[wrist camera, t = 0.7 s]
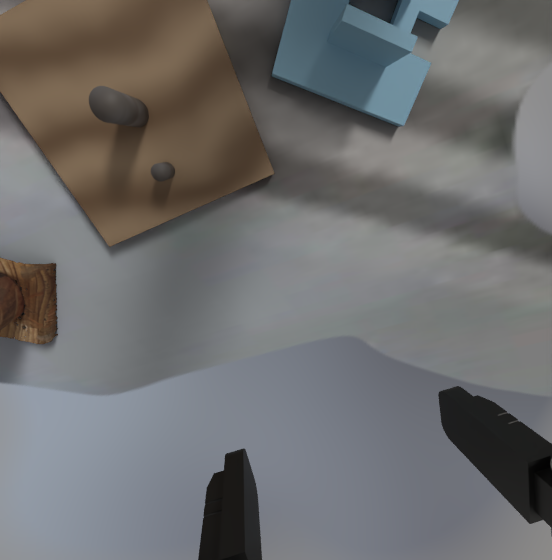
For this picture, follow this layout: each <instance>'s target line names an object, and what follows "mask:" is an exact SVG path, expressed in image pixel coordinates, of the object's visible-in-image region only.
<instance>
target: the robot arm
mask: <svg viewBox="0 0 552 560" xmlns="http://www.w3.org/2000/svg"><path fill="white" fill-rule="evenodd" d="M439 405H440V413H441V422H442V426H443V429H444V431H445V433H446V435H447V436H448V438H449V439H450V440H451V441H452V442H453V444H454V445H455V446H456V447H457V448H458V449H459V450H460V451H461V452H462V453H463V454H464V455H465V456H466V457H467V458H468V459H469V460H470V461H471V463H472V464H473V465H474V466H475V467H476V468H477V469H478V470H479V471H480V472H481V473H482V474H483V475H484V476H485V477H486V478H487V479H488V480H489V482H490V483H491V484H492V485H493V486H494V487H495V488H496V489H497V490H498V491H499V492H500V493H501V494H502V495H503V496H504V497H505V498H506V499H507V500H508V501H509V503H510V504H511V505H512V506H513V507H514V508H515V509H516V510H517V511H518V512H519V513H520V514H521V515H522V516H523V517H524V518H525V519H526V520H527V522H528V523H529V524H532V523H534V522H538V521H541V520H544V521H545V522H546V523H547V524H548V525H549V526H550V527H551V535H552V444H551V443H549V442H548V441H547V440H545V439H544V438H543V437H541V436H540V435H538V434H537V433H536V432H534V431H533V430H532V429H530V428H529V427H527V426H526V425H525V424H523V423H522V422H519V421H518V419H516V418H515V417H514V416H512V415H511V414H508V413H507V411H505V410H504V409H503V408H501V407H500V406H498V405H497V404H496V403H494V402H492V401H490V400H487V399H485V398H483V397H480V396H474V397H473V396H472V395H470V394H469V393H468V392H467V391H465V390H464V389H463V388H461V387H459V386H457V387H453V388H450V389H447V390H443V391H440V392H439ZM259 523H260V522H259V507H258V494H257V488H256V483H255V479H254V476H253V473H252V469H251V466H250V463H249V459H248V456H247V453H246V450H245V449H241V450H237V451H234V452H231V453H227V454H226V455H225V465H224V471H221V472H218V473H214V475H213V477H212V479H211V481H210V483H209V485H208V487H207V492H206V500H205V508H204V518H203V525H202V534H201V542H200V550H199V559H198V560H262V554H261V553H262V552H261V537H260V524H259Z"/></svg>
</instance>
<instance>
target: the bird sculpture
mask: <svg viewBox="0 0 552 560" xmlns="http://www.w3.org/2000/svg"><path fill="white" fill-rule="evenodd" d="M54 269H55V271H53V270H54ZM53 273H54V274H53ZM55 273H56V263H55V264H53V263H51V264H22V263H20V262H19V263H16V262H14V261H11V260H6V259H3V258H0V337H8V338H14V337H15V339H17V340H19V341H26V342H32V343H36V344H45V343H48V342H51V341H52V340H53V338H54V337H55V336H56V335H58V334H55V332H56V330H57V329H58V328H56V324H57V322H56V320H57V316H55V315H56V313H57V312H56V313H55V311H56V310H57V309H56V307H57V305H56V304H55V303H56V300H57V298H56V284H55V283H56V282H55V280H56V279H55V277H56V276H55ZM15 280H17V283H18V284H16V281H15ZM20 287H22V291H21V288H20ZM26 288H27V290H26ZM54 290H55V291H54ZM54 299H55V301H53V300H54ZM24 304H25V305H26V306H25V308H26V309H24ZM54 304H55V305H56V306H55V305H54ZM22 313H25V315H22ZM18 317H20V318H21V319H19V318H18ZM16 322H17V323H16ZM14 323H15V324H14ZM16 324H18V325H16ZM23 327H25V329H24V328H23ZM26 330H27V332H26ZM25 336H26V337H25ZM21 337H22V338H21ZM23 339H25V340H23Z"/></svg>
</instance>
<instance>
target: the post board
mask: <svg viewBox="0 0 552 560" xmlns="http://www.w3.org/2000/svg"><path fill="white" fill-rule="evenodd" d="M0 92H1V93H2V95H3V96H4V97H5V99H6V100H7V102H8V103H9V105H10V106H11V107H12V109H13V110H14V112H15V113H16V115H17V116H18V117H19V119H20V120H21V122H22V123H23V125H24V126H25V127H26V129H27V130H28V132H29V133H30V134H31V136H32V137H33V139H34V140H35V142H36V143H37V144H38V146H39V147H40V149H41V150H42V152H43V153H44V154H45V156H46V157H47V159H48V160H49V162H50V163H51V164H52V166H53V167H54V169H55V170H56V172H57V173H58V174H59V176H60V177H61V179H62V180H63V181H64V183H65V184H66V186H67V187H68V189H69V190H70V191H71V193H72V194H73V196H74V197H75V199H76V200H77V201H78V203H79V204H80V206H81V207H82V209H83V210H84V211H85V213H86V214H87V216H88V217H89V219H90V220H91V221H92V223H93V224H94V226H95V227H96V228H97V230H98V231H99V233H100V234H101V236H102V237H103V238H104V240H105V241H106V243H107V244H108V246H109V247H110V246H112V245H115V244H117V243H119V242H121V241H124V240H126V239H128V238H130V237H133V236H135V235H137V234H139V233H142V232H144V231H146V230H149V229H151V228H153V227H155V226H158V225H160V224H162V223H164V222H167V221H169V220H171V219H173V218H176V217H178V216H180V215H182V214H185V213H187V212H189V211H191V210H194V209H196V208H198V207H200V206H203V205H205V204H207V203H209V202H212V201H214V200H216V199H218V198H221V197H223V196H225V195H228V194H230V193H232V192H234V191H237V190H239V189H241V188H243V187H246V186H248V185H250V184H252V183H255V182H257V181H259V180H261V179H264V178H266V177H268V176H270V175H273V174H275V173H274V171H273V168H272V166H271V163H270V161H269V158H268V156H267V153H266V150H265V148H264V145H263V143H262V140H261V138H260V135H259V132H258V130H257V127H256V125H255V122H254V120H253V117H252V114H251V112H250V109H249V107H248V104H247V102H246V99H245V96H244V94H243V91H242V89H241V86H240V84H239V81H238V79H237V76H236V73H235V71H234V68H233V66H232V63H231V61H230V58H229V55H228V53H227V50H226V48H225V45H224V43H223V40H222V37H221V35H220V32H219V30H218V27H217V25H216V22H215V19H214V17H213V14H212V12H211V9H210V7H209V4H208V2H207V0H26V1H24V2H22V3H21V4H19V5H17V6H15V7H14V8H12V9H10V10H8V11H7V12H5V13H3V14H1V15H0Z"/></svg>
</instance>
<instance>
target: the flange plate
mask: <svg viewBox="0 0 552 560" xmlns="http://www.w3.org/2000/svg"><path fill="white" fill-rule="evenodd" d="M349 1H350V0H291V3H290V7H289V10H288V14H287V18H286V22H285V26H284V30H283V33H282V37H281V41H280V45H279V49H278V53H277V57H276V60H275V64H274V68H273V72H272V77H275V78H277V79H280V80H282V81H285V82H287V83H290V84H292V85H295V86H297V87H300V88H302V89H305V90H308V91H310V92H313V93H315V94H318V95H320V96H323V97H325V98H328V99H330V100H333V101H335V102H338V103H340V104H343V105H345V106H348V107H350V108H353V109H356V110H358V111H361V112H363V113H366V114H368V115H371V116H373V117H376V118H378V119H381V120H383V121H386V122H388V123H391V124H393V125H396V126H404V124H405V122H406V120H407V117H408V115H409V113H410V111H411V108H412V106H413V104H414V101H415V99H416V97H417V95H418V92H419V90H420V88H421V85H422V83H423V81H424V79H425V76H426V74H427V72H428V69H429V67H430V65H431V63H430V62H428V61H426V60H424V59H422V58H419V57H417V56H415V55H413V54H410V53H411V52H412V50H413V47H414V45H415V43H416V40H417V38H418V37H417V36H415V35H413V34H411V31H412V28H413V26H414V23H415V21H416V18H418V19H420V20H422V21H425V22H427V23H429V24H431V25H433V26H435V27H437V28H439V29H442V28H443V27H445V26H446V25H448V24H449V21H450V19H451V17H452V15H453V12H454V10H455V8H456V5H457V3H458V1H459V0H398V3H397V6H396V8H395V11H394V14H393V16H392V19H391V22H390V24H389V23H387V22H385V21H383V20H381V19H379V18H377V17H374V16H372V15H370V14H368V13H366V12H364V11H362V10H359V9H357V8H355V7H353V6H351V5H349Z"/></svg>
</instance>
